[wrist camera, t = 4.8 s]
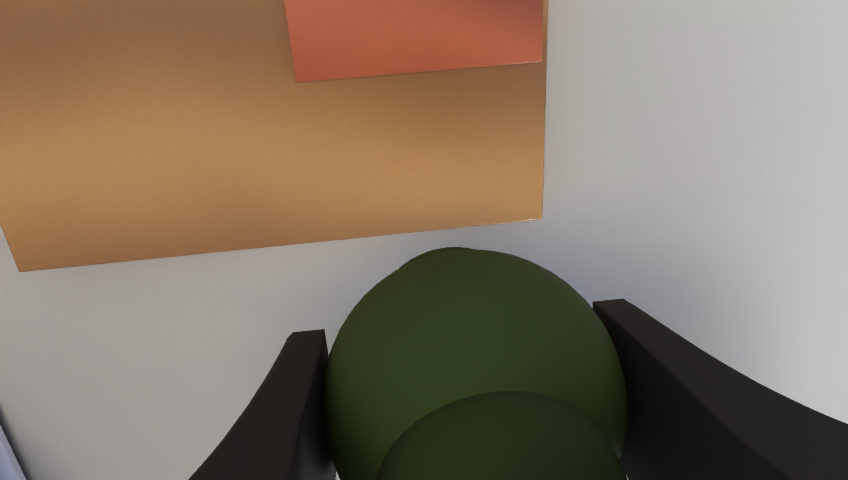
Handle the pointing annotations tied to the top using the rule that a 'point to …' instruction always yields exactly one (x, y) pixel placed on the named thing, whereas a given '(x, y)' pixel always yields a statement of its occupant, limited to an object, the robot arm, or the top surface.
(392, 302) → the avocado
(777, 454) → the robot arm
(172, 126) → the board
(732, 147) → the top surface
